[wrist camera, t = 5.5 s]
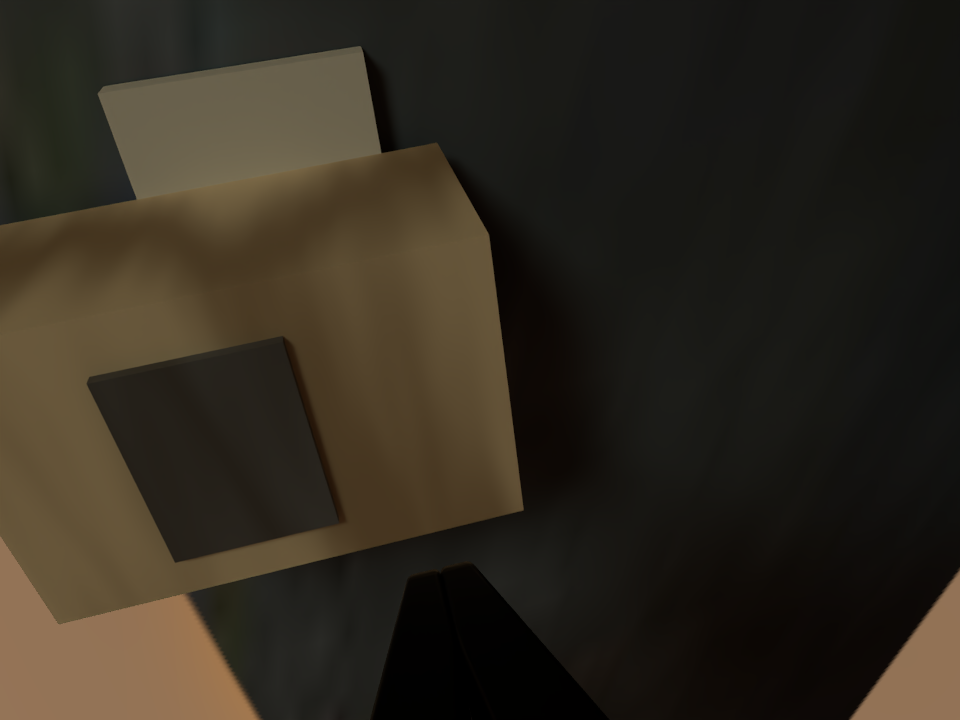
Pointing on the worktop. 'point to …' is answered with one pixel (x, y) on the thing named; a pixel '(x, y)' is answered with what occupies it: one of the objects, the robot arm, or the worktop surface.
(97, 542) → the wooden block
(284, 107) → the mat
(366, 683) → the worktop surface
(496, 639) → the robot arm
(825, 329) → the worktop surface
